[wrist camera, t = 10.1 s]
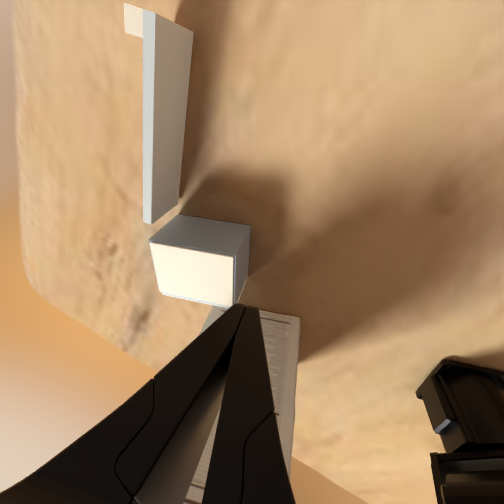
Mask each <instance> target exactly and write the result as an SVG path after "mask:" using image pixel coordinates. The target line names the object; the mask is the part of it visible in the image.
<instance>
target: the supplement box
mask: <svg viewBox="0 0 504 504" xmlns="http://www.w3.org/2000/svg"><path fill="white" fill-rule="evenodd" d="M226 310H228V308H223V307H218V306H213V307H212V309H211V311H210V313H209V315H208V317H207V320H206V322H205V324H204V326H203V328H202V330H201V332H200V334H201V333H202V332H203V331H204V330H206V329H207V328H208V327H209V326H210V325H211V324H212V323H213V322H214V321H215V320H217V319H218V318H219V317H220V316H221V315H222V314H223V313H224V312H225V311H226ZM259 313H260V319H261V325H262V331H263V338H264V344H265V350H266V356H267V363H268V369H269V375H270V381H271V388H272V394H273V400H274V406H275V413H276V418H277V424H278V430H279V435H280V441H281V446H282V451H283V456H284V460H285V464H286V468H287V472H288V476H289V480H290V471H291V455H292V445H293V431H294V422H295V392H296V381H297V367H298V352H299V338H300V324H301V319H300V318H299V317H294V316H289V315H283V314H278V313H273V312H267V311H262V310H259ZM200 334H199V335H200ZM220 408H221V406H220ZM219 413H220V409H219V411H218V414H217V416H216V419H215V422H214V424H213V427H212V430H211V432H210V435H209V437H208V440H207V443H206V445H205V448H204V451H203V453H202V456H201V458H200V461H199V464H198V466H197V469H196V472H195V474H194V477H193V479H192V482H191V485H190V487H189V490H188V493H187V495H186V498H185V500H184V503H183V504H202V499H203V494H204V489H205V484H206V479H207V473H208V468H209V463H210V458H211V453H212V448H213V443H214V438H215V433H216V428H217V423H218V418H219Z"/></svg>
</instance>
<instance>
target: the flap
mask: <svg viewBox="0 0 504 504" xmlns="http://www.w3.org/2000/svg"><path fill="white" fill-rule="evenodd" d="M124 21H125V33H128V34H131V35H134V36H137V37H140V38H143V222H144V223H147V224H150V225H152V224H153V223H154V222H155V221H157V220H158V219H159V218H160V217H162V216H163V215H164V214H166V213H167V212H168V211H169V210H171V209H172V208H173V207H174V206H176V205H177V204H178V199H179V188H180V177H181V166H182V155H183V144H184V133H185V122H186V111H187V100H188V89H189V78H190V68H191V57H192V46H193V35H194V32H193V31H191V30H189V29H187V28H185V27H183V26H181V25H179V24H176V23H174V22H172V21H170V20H168V19H166V18H164V17H162V16H160V15H158V14H156V13H154V12H150V11H147V10H144V9H141V8H138V7H135V6H132V5H129V4H126V3H124Z"/></svg>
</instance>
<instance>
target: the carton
mask: <svg viewBox="0 0 504 504" xmlns="http://www.w3.org/2000/svg"><path fill="white" fill-rule="evenodd" d="M250 232H251V226H250V225H244V224H237V223H231V222H224V221H218V220H212V219H205V218H199V217H192V216H186V215H180V214H178V215H177V216H175V217H174V218H173V219H172V220H171V221H170V222H168V223H167V224H166V225H165V226H164V227H163V228H161V229H160V230H159V231H158V232H157V233H156V234H155V235H153V236H152V237H151V238H150V239H149V244H150V249H151V254H152V259H153V263H154V268H155V273H156V278H157V282H158V287H159V291H160V292H162V295H167V296H171V297H176V298H181V299H185V300H190V301H195V302H199V303H204V304H209V305H213V306H218V307H223V308H228V309H229V308H230V307H231V306H232V305H233V304H235V303H238V302H239V300H240V297H241V295H242V292H243V289H244V287H245V284H246V282H247V274H248V265H249V249H250Z"/></svg>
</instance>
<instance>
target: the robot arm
mask: <svg viewBox="0 0 504 504" xmlns="http://www.w3.org/2000/svg"><path fill="white" fill-rule="evenodd" d="M416 396H417V398H418V399H422V400H423V401H424V404H425V407H426V410H427V413H428V416H429V419H430V422H431V425H432V427H433V430H434V431H435V433H436V434H440V437H441V440H442V443H443V446H444V448H445V451H446V453H437V452H434V453H430V457H431V468H432V474H433V480H434V485H435V491H436V497H437V503H438V504H504V372H500V371H495V370H491V369H486V368H482V367H477V366H472V365H468V364H463V363H458V362H454V361H449V360H444V361H442V362H440V363H439V365H438V366H437V367H436V368H435V369H434V371H433V372H432V373H431V374H430V375H429V377H428V378H427V379H426V380H425V381H424V383H423V384H422V385H421V386H420V387H419V389H418V390H417V391H416ZM220 406H221V408H220ZM219 409H220V413H219V418H218V423H217V428H216V433H215V438H214V443H213V448H212V453H211V458H210V463H209V468H208V473H207V479H206V484H205V489H204V494H203V499H202V504H296V503H295V499H294V495H293V492H292V488H291V484H290V480H289V476H288V472H287V468H286V464H285V460H284V456H283V451H282V446H281V441H280V435H279V430H278V424H277V418H276V413H275V406H274V400H273V394H272V388H271V381H270V375H269V369H268V363H267V356H266V350H265V344H264V338H263V331H262V325H261V319H260V313H259V309H258V308H257V307H252V306H247V307H246V305H243V304H238V303H235V304H233V305H232V306H231V307H230V308H229V309H228V310H226V311H225V312H224V313H223V314H222V315H221V316H220V317H219V318H218V319H217V320H215V321H214V322H213V323H212V324H211V325H210V326H209V327H208V328H207V329H206V330H204V331H203V332H202V333H201V334H200V335H199V336H198V337H197V338H196V339H195V340H193V341H192V342H191V343H190V344H189V345H188V346H187V347H186V348H185V349H184V350H182V351H181V352H180V353H179V354H178V355H177V356H176V357H175V358H174V359H173V360H171V361H170V362H169V363H168V364H167V365H166V366H165V367H164V368H163V369H162V370H160V371H159V372H158V373H157V374H156V375H155V376H154V379H150V380H149V381H148V382H147V383H146V384H145V385H144V386H143V387H142V388H141V389H140V390H138V391H137V392H136V393H135V394H134V395H133V396H131V397H130V398H129V399H128V400H127V401H126V402H124V404H122V405H121V406H120V407H118V408H117V409H116V410H115V411H113V412H112V413H111V414H110V415H108V416H107V417H106V418H105V419H103V420H102V421H101V422H100V423H98V424H97V425H95V426H94V427H93V428H91V429H90V430H89V431H88V432H86V433H85V434H84V435H82V436H81V437H80V438H78V439H77V440H76V441H75V442H73V443H72V444H71V445H69V446H68V447H67V448H65V449H64V450H63V451H61V452H60V453H59V454H57V455H56V456H55V457H53V458H52V459H51V460H50V461H48V462H47V463H46V464H44V465H43V466H42V467H40V468H39V469H37V470H36V471H35V472H33V473H32V474H30V475H29V476H27V477H26V478H25V479H23V480H21V481H20V482H18V483H16V484H15V485H13V486H12V487H10V488H8V489H6V490H4V491H3V492H1V493H0V504H183V503H184V500H185V498H186V495H187V493H188V490H189V487H190V485H191V482H192V479H193V477H194V474H195V472H196V469H197V466H198V464H199V461H200V458H201V456H202V453H203V451H204V448H205V445H206V443H207V440H208V437H209V435H210V432H211V430H212V427H213V424H214V422H215V419H216V416H217V414H218V411H219Z"/></svg>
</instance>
